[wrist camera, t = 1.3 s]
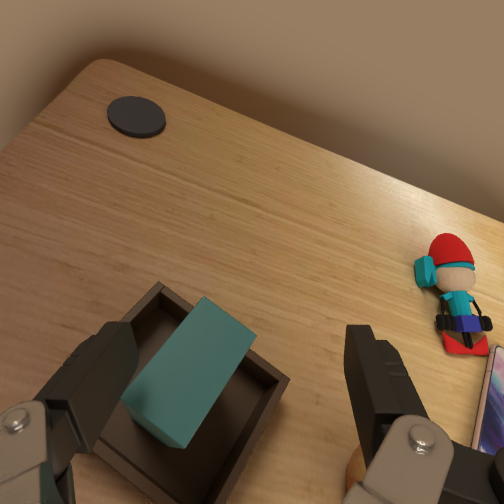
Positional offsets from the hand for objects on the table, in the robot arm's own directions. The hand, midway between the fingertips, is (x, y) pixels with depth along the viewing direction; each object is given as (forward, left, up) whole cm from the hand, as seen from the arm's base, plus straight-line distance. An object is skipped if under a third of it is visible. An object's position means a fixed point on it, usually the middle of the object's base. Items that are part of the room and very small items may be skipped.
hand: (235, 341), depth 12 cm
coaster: (-26, +23, -18) cm, 39 cm away
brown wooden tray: (-1, 0, -18) cm, 18 cm away
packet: (-1, 0, -17) cm, 17 cm away
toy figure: (+19, +28, -18) cm, 38 cm away
